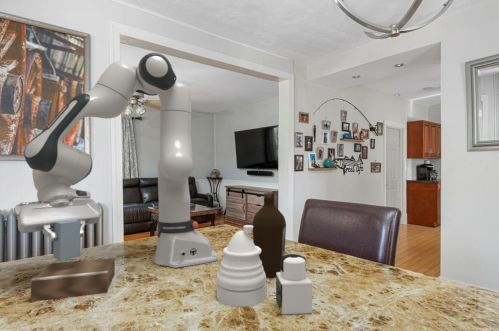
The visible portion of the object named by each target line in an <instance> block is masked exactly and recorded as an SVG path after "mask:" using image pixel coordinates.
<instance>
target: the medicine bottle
mask: <svg viewBox="0 0 499 331" xmlns="http://www.w3.org/2000/svg"><path fill="white" fill-rule="evenodd" d="M275 283H276V284H275V300H276V304H277V306H278V309H279V311H280V313H281V315H302V314H303V315H304V314H307V315H308V314H313V281H312V280H311V279H310V278H309V277H308V275H307V259H306V257H305V256H303V255H301V254H296V253H287V254H285V255H284V256H282V257H281V272H277V273H276V277H275Z"/></svg>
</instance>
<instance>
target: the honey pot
mask: <svg viewBox="0 0 499 331" xmlns="http://www.w3.org/2000/svg"><path fill="white" fill-rule="evenodd" d="M242 228H243V230H238V231H237V232H236V233H235V232H234V234H233V236H232V237H231V239H230V240H229V243H228V245H227V246H226V247H224V248H223V251H222V252H223V257H222V259H221V261H220V265H219V268H218V272H217V273H216V298H217V301H218V302H220V303H222V304H224V305H226V306H229V307H237V308H240V307H241V308H245V307H251V306H255V305H256V306H257V305H258V304H260V303H262V302H263V301H264V300H265V299H266V298H267V282H266V281H267V277H266V274H265V272H264V269H263V266H262V261H261V260H260V258H259V254H260V253H261V248H259V247H258V246H255V245H254V243H253V238H252V237H251V236H250V235H249V234H251V233H253V226H252V224H250V225H249V224H246V225H243V227H242Z"/></svg>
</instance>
